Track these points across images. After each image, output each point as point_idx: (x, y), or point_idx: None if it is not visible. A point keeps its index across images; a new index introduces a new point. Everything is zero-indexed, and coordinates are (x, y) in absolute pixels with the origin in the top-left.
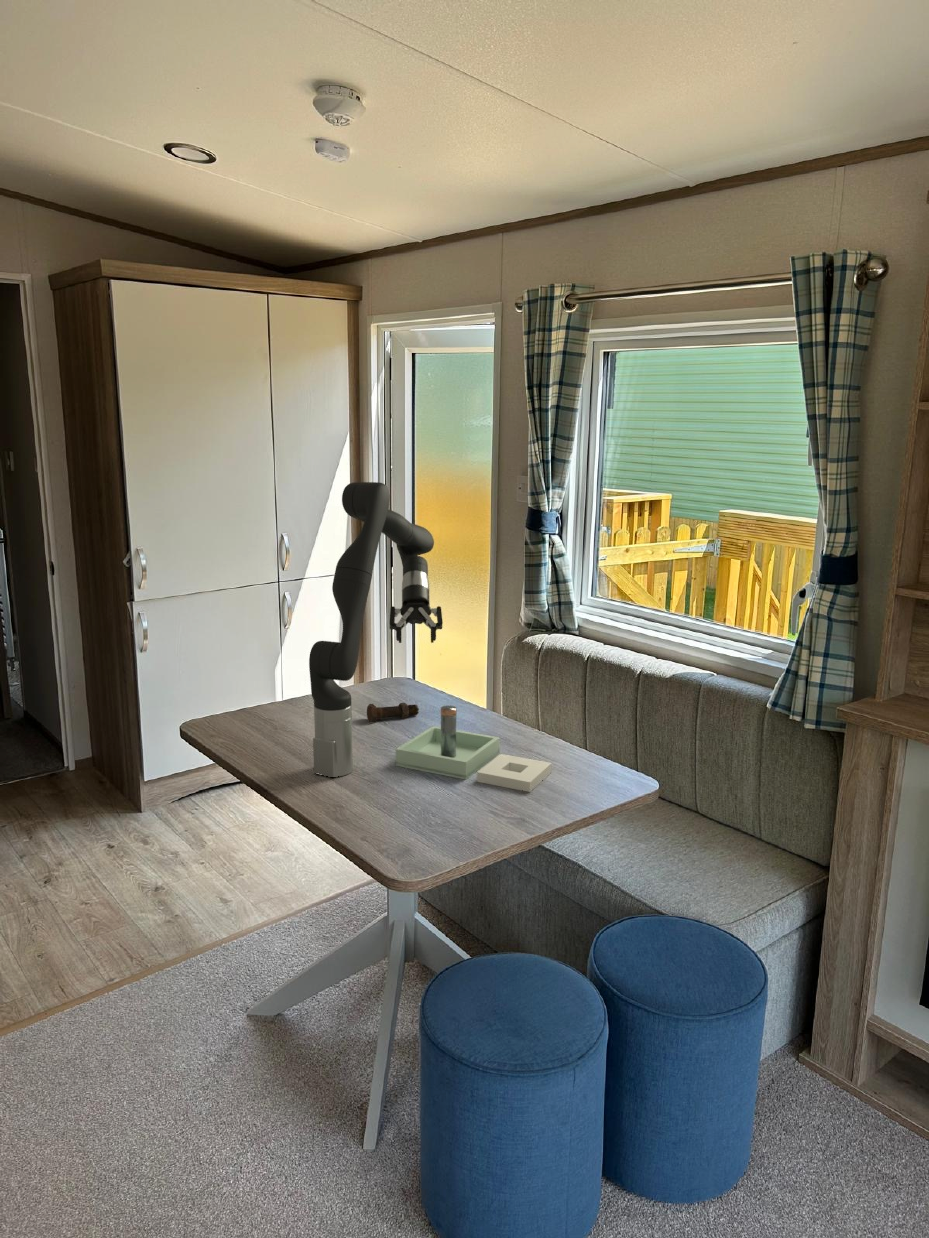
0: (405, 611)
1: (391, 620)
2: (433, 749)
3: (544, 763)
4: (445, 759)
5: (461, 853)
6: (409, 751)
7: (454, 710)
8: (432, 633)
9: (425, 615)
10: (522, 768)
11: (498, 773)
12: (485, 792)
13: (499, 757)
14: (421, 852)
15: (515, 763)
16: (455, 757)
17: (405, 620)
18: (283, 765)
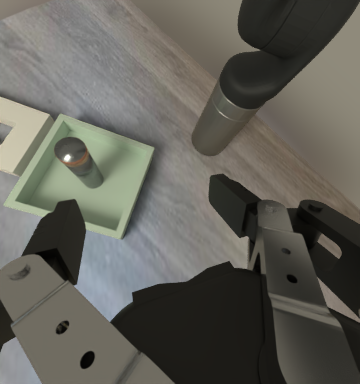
0: (348, 339)
1: (336, 219)
2: (115, 197)
3: None
4: (88, 124)
5: (67, 4)
6: (136, 141)
7: (58, 141)
8: (56, 217)
9: (80, 333)
10: None
11: (20, 111)
12: (45, 97)
13: (15, 159)
14: (99, 9)
15: None
16: None
17: (259, 244)
18: (254, 149)
